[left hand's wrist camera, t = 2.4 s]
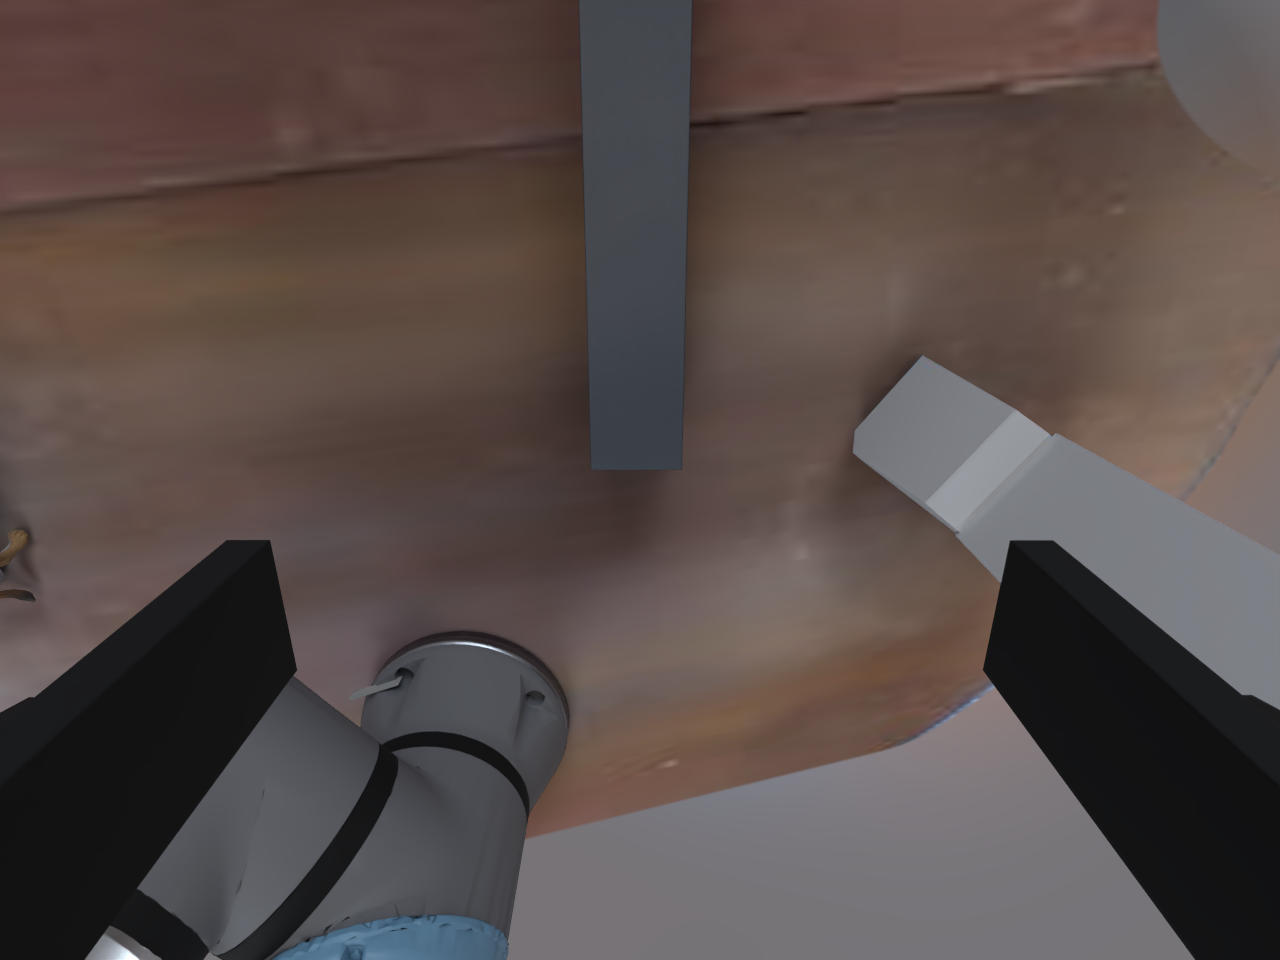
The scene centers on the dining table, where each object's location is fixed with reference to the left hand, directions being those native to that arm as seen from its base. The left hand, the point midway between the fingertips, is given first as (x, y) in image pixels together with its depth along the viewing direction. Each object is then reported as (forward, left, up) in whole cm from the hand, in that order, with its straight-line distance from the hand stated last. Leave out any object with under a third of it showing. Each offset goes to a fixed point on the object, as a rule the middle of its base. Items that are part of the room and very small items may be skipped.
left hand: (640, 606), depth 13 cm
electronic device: (-4, -21, -34) cm, 40 cm away
